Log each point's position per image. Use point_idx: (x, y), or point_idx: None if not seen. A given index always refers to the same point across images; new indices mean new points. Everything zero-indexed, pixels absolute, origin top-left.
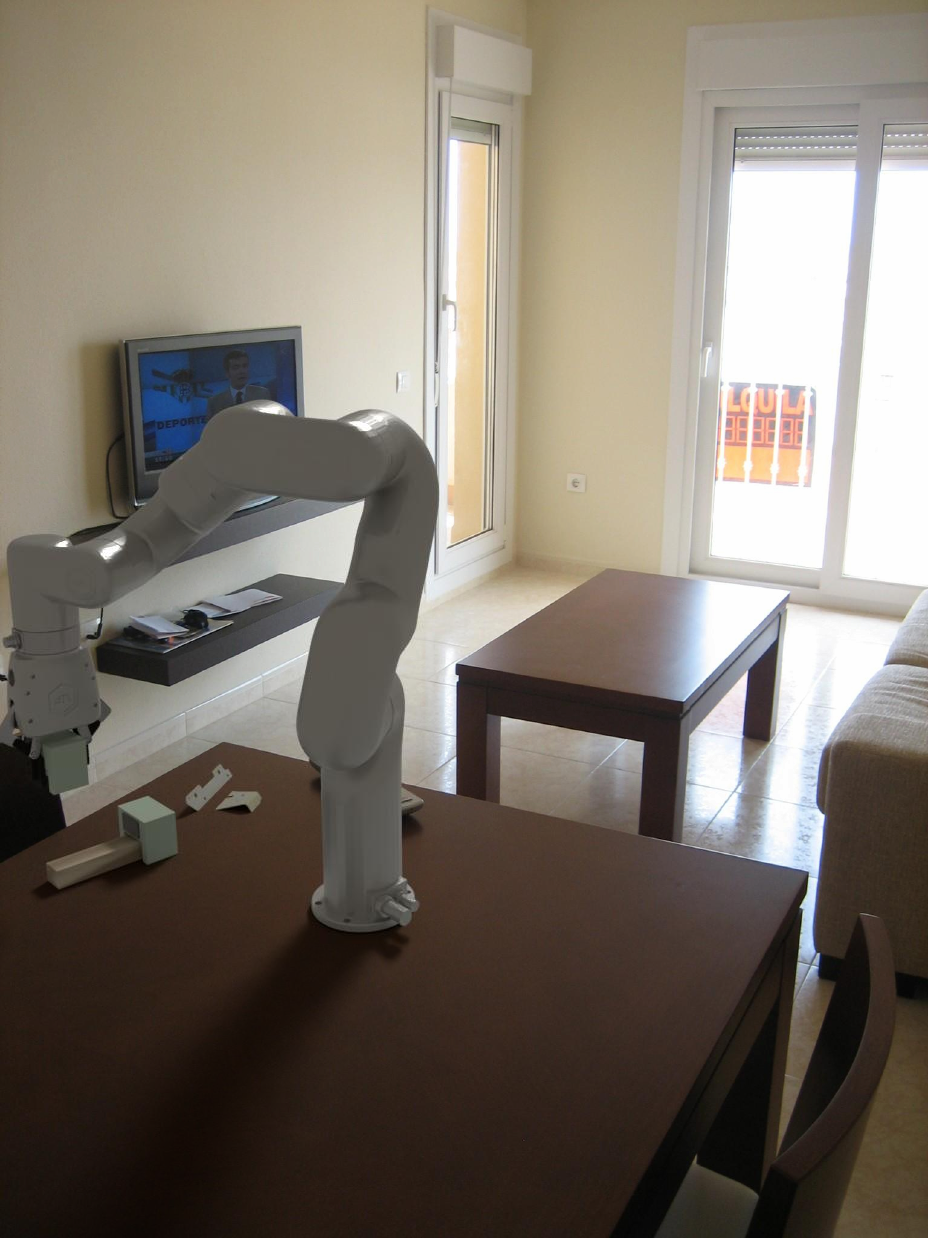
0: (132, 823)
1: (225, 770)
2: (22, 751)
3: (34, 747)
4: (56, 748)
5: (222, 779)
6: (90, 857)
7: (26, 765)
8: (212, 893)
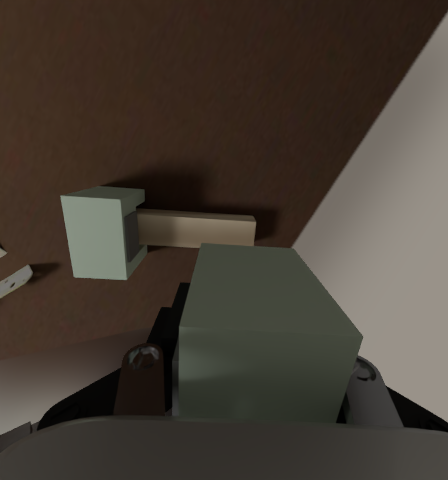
0: (130, 230)
1: None
2: (403, 399)
3: (373, 395)
4: (330, 331)
5: None
6: (206, 223)
7: None
8: (112, 42)
